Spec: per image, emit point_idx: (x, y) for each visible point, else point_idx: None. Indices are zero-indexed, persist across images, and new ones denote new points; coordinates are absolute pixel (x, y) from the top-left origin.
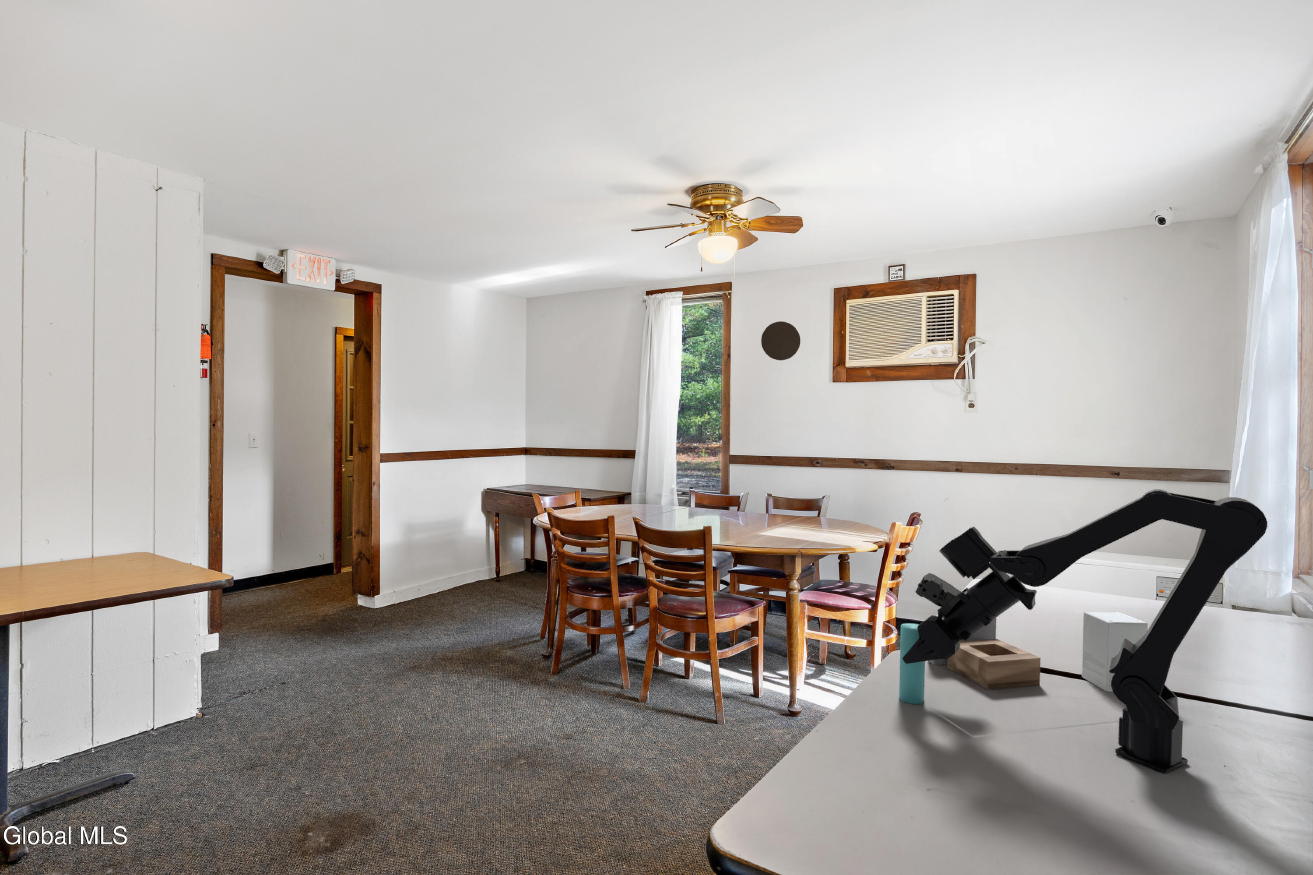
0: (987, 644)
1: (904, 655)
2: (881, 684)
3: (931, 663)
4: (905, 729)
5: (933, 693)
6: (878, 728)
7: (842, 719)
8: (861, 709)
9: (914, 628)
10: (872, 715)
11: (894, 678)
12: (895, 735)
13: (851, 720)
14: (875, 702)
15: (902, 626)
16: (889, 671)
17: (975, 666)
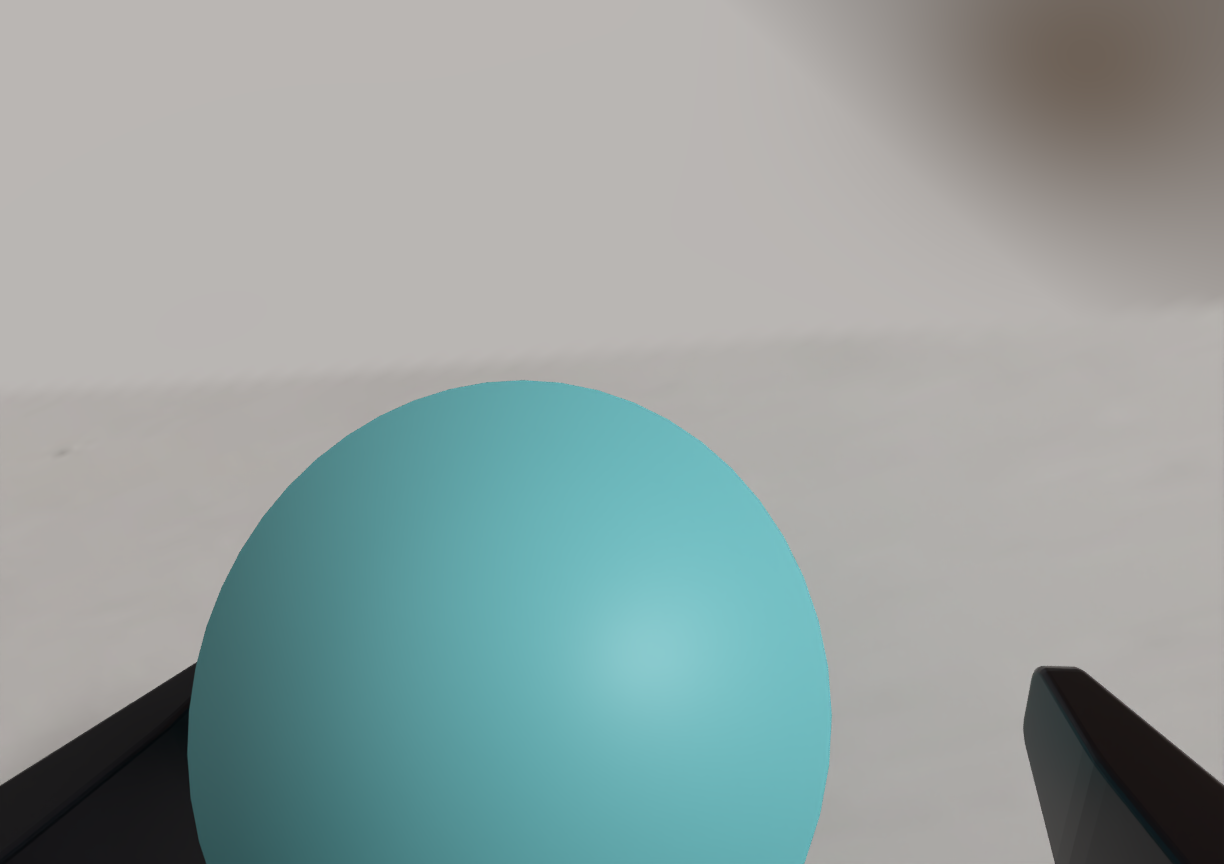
0: None
1: (161, 684)
2: (836, 396)
3: None
4: None
5: (954, 822)
6: (66, 636)
7: (101, 416)
8: (294, 450)
9: (360, 760)
10: (237, 539)
11: (1059, 431)
12: (10, 761)
13: (109, 462)
14: None
15: (367, 452)
16: (1202, 343)
17: None
